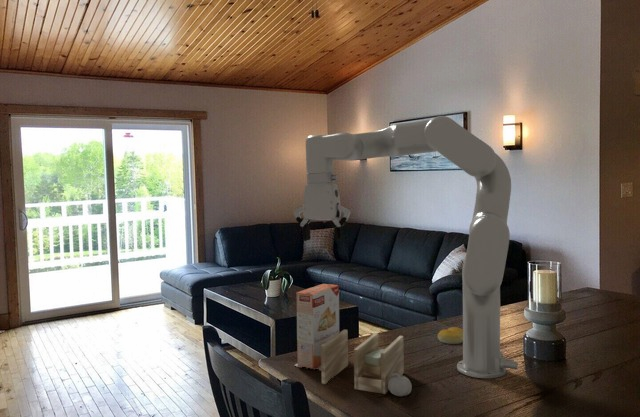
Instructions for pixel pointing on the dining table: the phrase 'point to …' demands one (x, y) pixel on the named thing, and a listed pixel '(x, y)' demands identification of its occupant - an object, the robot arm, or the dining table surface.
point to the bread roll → (451, 335)
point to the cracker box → (316, 322)
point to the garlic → (399, 385)
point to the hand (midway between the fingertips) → (322, 240)
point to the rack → (361, 361)
